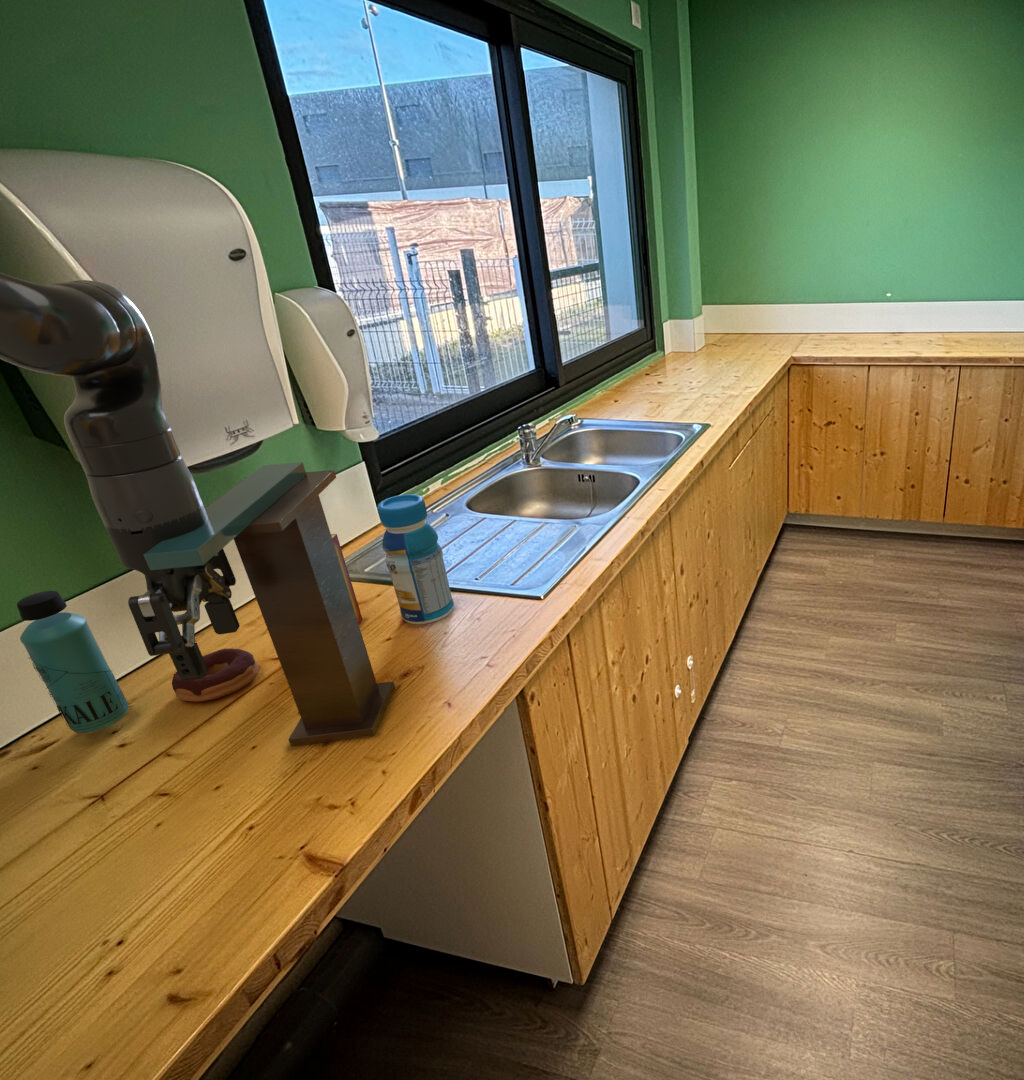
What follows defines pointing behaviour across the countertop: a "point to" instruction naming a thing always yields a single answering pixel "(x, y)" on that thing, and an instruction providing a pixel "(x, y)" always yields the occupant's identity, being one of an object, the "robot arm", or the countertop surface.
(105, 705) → the beverage bottle
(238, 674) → the donut
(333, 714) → the stand
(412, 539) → the beverage bottle
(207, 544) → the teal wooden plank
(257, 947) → the countertop surface
